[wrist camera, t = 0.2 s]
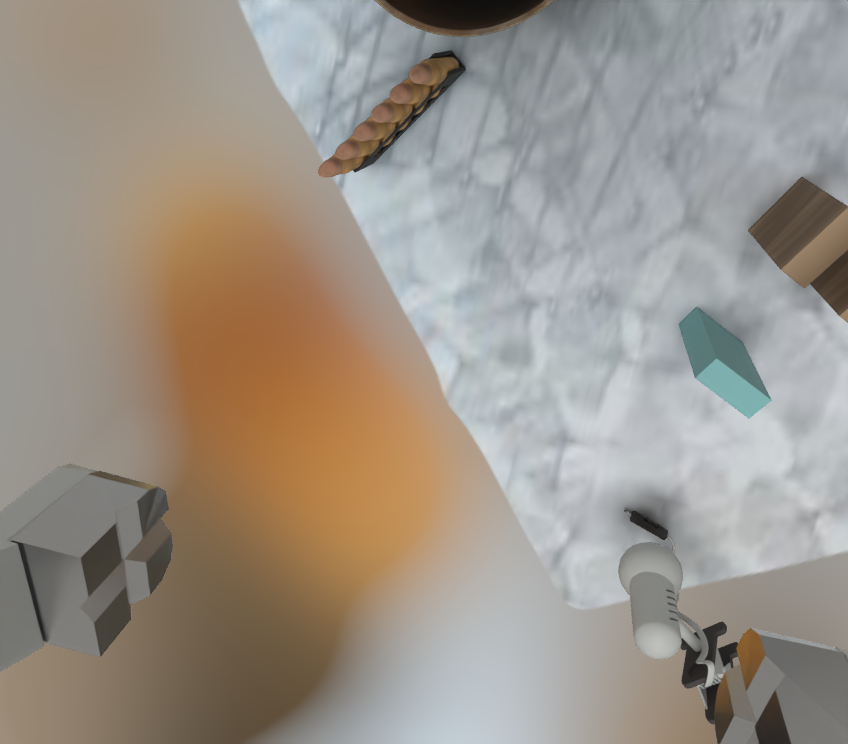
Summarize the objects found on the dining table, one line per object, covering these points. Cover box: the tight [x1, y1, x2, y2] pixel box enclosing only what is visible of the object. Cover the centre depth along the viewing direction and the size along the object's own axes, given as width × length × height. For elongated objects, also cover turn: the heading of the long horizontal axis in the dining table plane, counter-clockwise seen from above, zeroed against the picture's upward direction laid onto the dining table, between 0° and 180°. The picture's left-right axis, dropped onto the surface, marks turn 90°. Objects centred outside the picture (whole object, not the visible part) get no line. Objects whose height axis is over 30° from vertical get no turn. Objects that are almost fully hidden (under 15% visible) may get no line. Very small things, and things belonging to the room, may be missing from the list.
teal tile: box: [679, 307, 771, 418], centre depth 50 cm, size 2×5×10 cm, turn 56°
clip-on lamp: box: [618, 509, 738, 724], centre depth 56 cm, size 12×6×18 cm, turn 44°
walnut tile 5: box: [748, 177, 848, 288], centre depth 45 cm, size 2×5×10 cm, turn 146°
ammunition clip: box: [318, 51, 465, 177], centre depth 47 cm, size 11×2×12 cm, turn 133°
